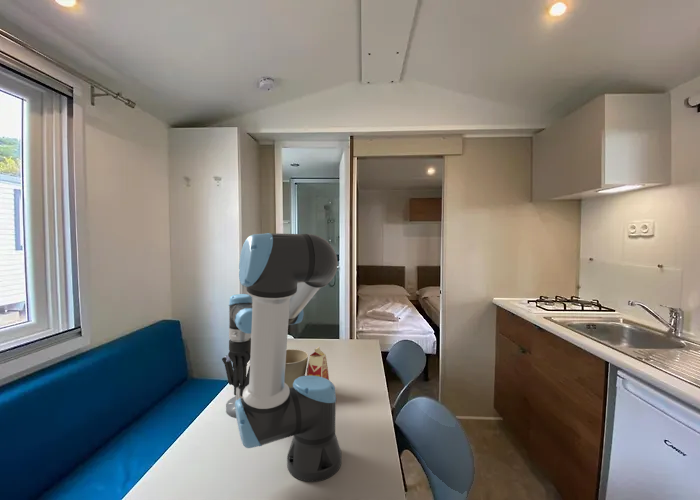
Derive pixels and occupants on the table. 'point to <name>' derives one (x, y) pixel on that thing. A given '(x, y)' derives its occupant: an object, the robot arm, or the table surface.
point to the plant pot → (295, 365)
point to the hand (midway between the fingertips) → (239, 404)
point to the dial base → (231, 407)
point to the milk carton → (318, 364)
